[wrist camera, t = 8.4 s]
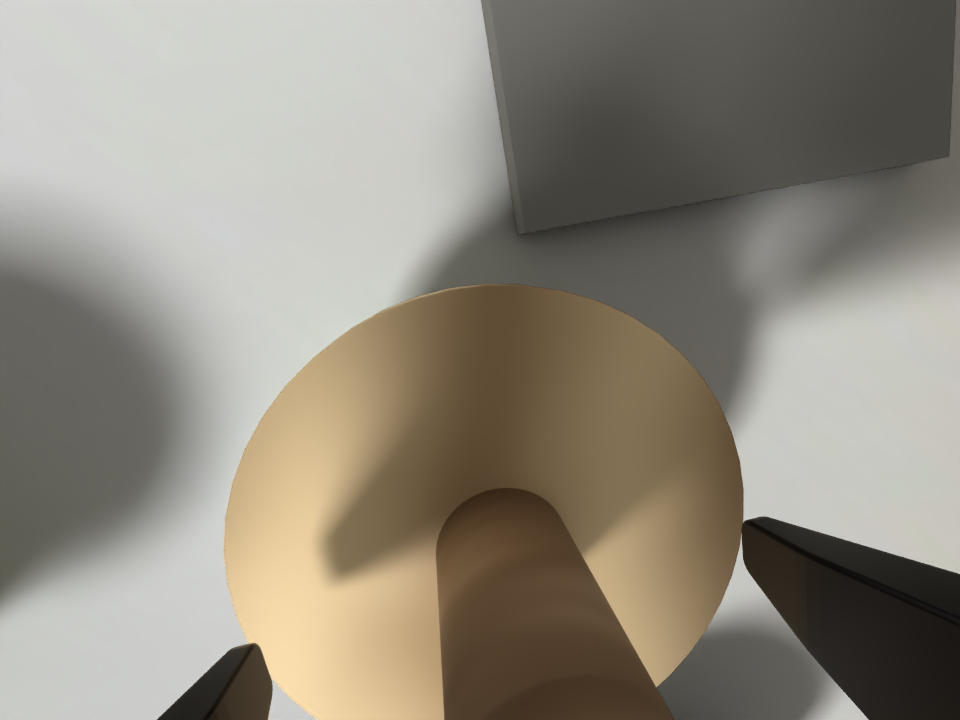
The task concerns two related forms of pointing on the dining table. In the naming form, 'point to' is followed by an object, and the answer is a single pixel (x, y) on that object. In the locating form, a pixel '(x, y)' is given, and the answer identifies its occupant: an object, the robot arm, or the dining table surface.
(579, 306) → the lid
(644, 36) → the mat
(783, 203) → the dining table surface
